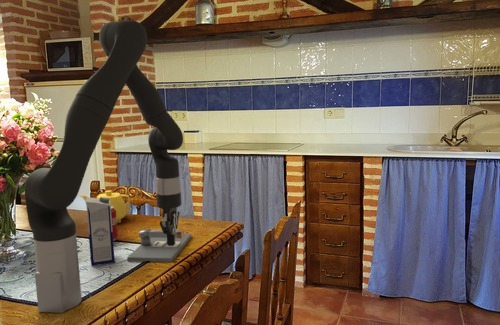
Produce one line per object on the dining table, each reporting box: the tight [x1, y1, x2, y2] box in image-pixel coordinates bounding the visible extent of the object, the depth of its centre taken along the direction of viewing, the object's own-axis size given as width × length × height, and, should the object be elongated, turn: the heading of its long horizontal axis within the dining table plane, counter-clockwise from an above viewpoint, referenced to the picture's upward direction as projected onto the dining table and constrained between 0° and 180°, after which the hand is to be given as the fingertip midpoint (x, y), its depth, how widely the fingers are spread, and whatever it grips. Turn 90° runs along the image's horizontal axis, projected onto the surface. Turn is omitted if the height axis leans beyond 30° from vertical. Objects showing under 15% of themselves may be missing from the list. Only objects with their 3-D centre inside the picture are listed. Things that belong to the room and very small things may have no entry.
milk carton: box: [85, 196, 116, 267], centre depth 128 cm, size 7×7×20 cm
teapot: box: [78, 189, 132, 224], centre depth 173 cm, size 14×20×13 cm
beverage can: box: [111, 206, 119, 242], centre depth 148 cm, size 6×6×12 cm
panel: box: [126, 233, 193, 263], centre depth 139 cm, size 24×14×4 cm, turn 173°
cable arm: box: [138, 228, 185, 239], centre depth 139 cm, size 4×15×2 cm, turn 83°
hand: (171, 244), depth 132 cm, fingers closed
